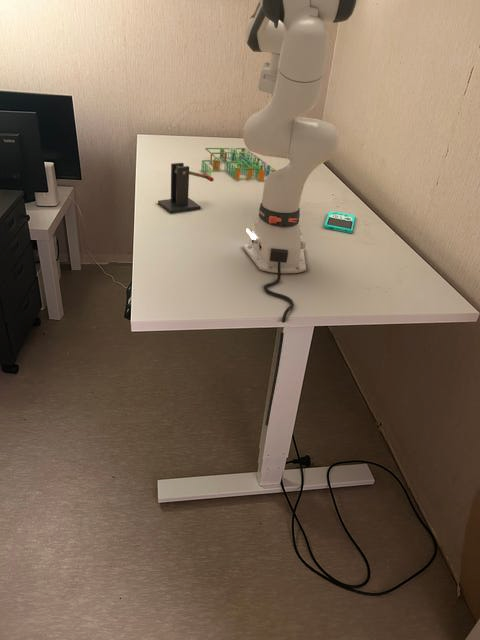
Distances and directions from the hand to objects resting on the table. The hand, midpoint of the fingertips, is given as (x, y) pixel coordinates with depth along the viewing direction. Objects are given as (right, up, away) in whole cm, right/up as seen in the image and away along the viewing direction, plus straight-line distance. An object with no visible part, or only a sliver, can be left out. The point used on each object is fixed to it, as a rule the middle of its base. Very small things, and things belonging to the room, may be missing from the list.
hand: (276, 110), depth 159 cm
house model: (-17, -3, +53) cm, 56 cm away
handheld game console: (+24, -37, +10) cm, 45 cm away
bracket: (-35, -31, +8) cm, 47 cm away
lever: (-29, -21, +5) cm, 37 cm away
